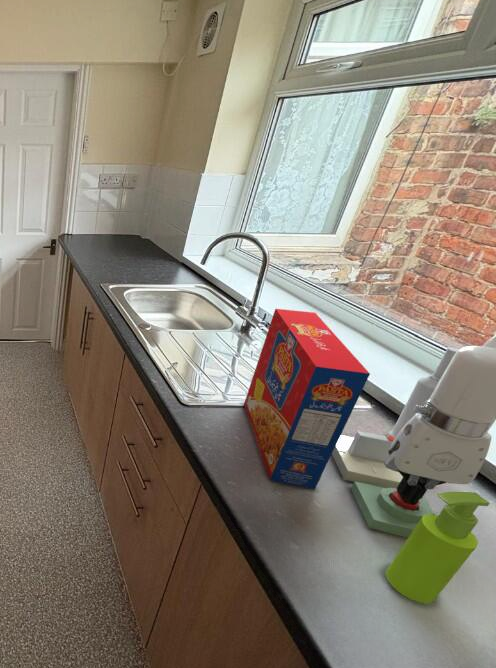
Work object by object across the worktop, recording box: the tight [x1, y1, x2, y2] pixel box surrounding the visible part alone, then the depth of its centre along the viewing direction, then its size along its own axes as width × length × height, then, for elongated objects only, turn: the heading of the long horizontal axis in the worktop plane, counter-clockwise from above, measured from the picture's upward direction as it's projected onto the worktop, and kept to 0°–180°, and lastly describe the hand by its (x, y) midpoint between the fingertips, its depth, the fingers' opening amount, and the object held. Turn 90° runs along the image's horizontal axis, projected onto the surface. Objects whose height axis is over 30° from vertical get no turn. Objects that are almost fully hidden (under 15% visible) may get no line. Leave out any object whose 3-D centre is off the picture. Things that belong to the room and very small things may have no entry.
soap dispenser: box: [385, 491, 490, 604], centre depth 63 cm, size 6×7×20 cm
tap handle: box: [348, 430, 394, 462], centre depth 88 cm, size 6×2×6 cm, turn 67°
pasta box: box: [243, 308, 371, 490], centre depth 92 cm, size 28×8×28 cm, turn 161°
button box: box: [350, 481, 436, 539], centre depth 78 cm, size 11×10×4 cm
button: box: [390, 491, 419, 511], centre depth 77 cm, size 4×4×2 cm
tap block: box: [331, 434, 403, 489], centre depth 90 cm, size 13×10×3 cm
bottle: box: [387, 346, 461, 439], centre depth 91 cm, size 5×5×25 cm
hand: (406, 497), depth 77 cm, fingers closed
